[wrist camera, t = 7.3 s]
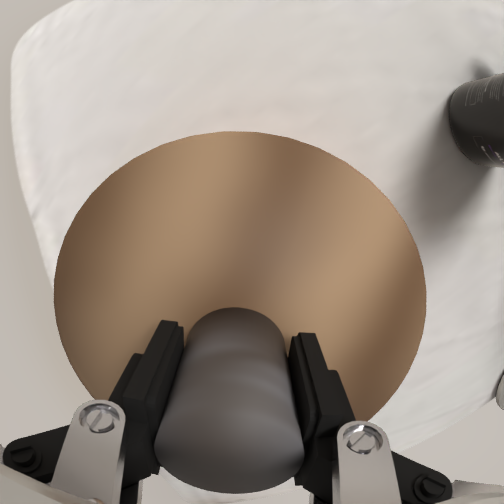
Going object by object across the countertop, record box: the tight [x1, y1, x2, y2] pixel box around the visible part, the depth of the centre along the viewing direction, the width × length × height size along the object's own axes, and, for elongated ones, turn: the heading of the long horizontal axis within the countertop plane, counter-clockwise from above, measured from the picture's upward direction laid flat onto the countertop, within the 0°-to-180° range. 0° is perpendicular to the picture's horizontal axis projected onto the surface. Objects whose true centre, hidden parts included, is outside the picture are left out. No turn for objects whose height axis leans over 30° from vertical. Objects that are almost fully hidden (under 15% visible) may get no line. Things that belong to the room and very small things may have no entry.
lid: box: [54, 132, 426, 494], centre depth 9 cm, size 15×15×6 cm
